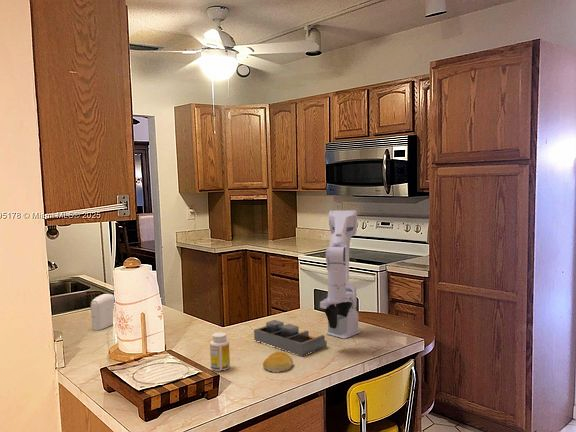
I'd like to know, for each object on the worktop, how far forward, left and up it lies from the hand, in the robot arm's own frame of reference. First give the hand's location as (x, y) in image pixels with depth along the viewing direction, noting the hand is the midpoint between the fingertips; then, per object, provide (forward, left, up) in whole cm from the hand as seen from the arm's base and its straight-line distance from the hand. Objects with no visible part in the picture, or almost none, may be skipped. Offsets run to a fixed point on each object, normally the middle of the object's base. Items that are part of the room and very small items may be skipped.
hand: (337, 325), depth 159 cm
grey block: (0, 0, -2) cm, 2 cm away
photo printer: (+38, -83, -8) cm, 92 cm away
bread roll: (+22, -5, -9) cm, 24 cm away
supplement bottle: (+34, -17, -8) cm, 39 cm away
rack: (+6, -16, -8) cm, 19 cm away
